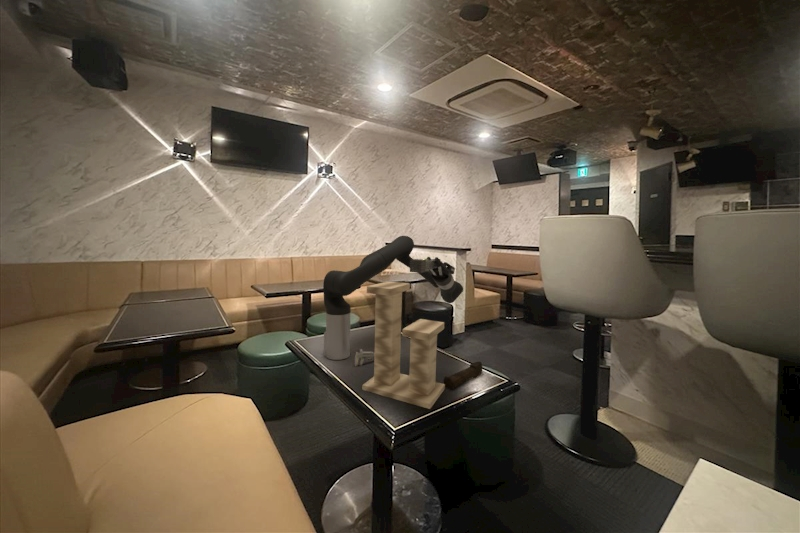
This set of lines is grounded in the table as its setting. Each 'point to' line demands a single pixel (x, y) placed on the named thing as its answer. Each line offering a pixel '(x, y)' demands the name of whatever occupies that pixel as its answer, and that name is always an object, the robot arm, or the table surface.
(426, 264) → the spirit level
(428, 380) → the stand
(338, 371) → the table surface
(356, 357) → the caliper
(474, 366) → the dark brown bar
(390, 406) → the table surface
